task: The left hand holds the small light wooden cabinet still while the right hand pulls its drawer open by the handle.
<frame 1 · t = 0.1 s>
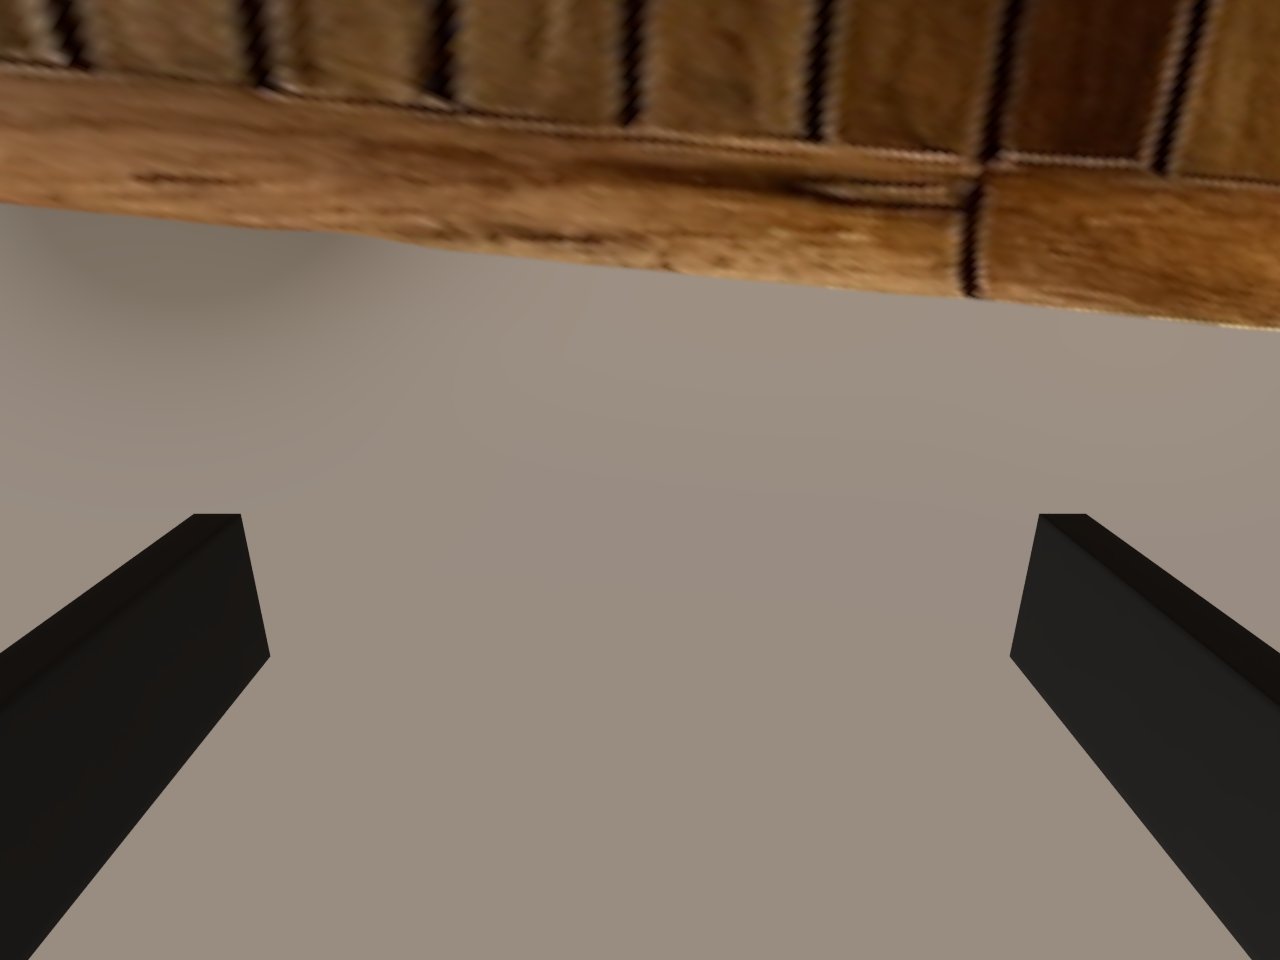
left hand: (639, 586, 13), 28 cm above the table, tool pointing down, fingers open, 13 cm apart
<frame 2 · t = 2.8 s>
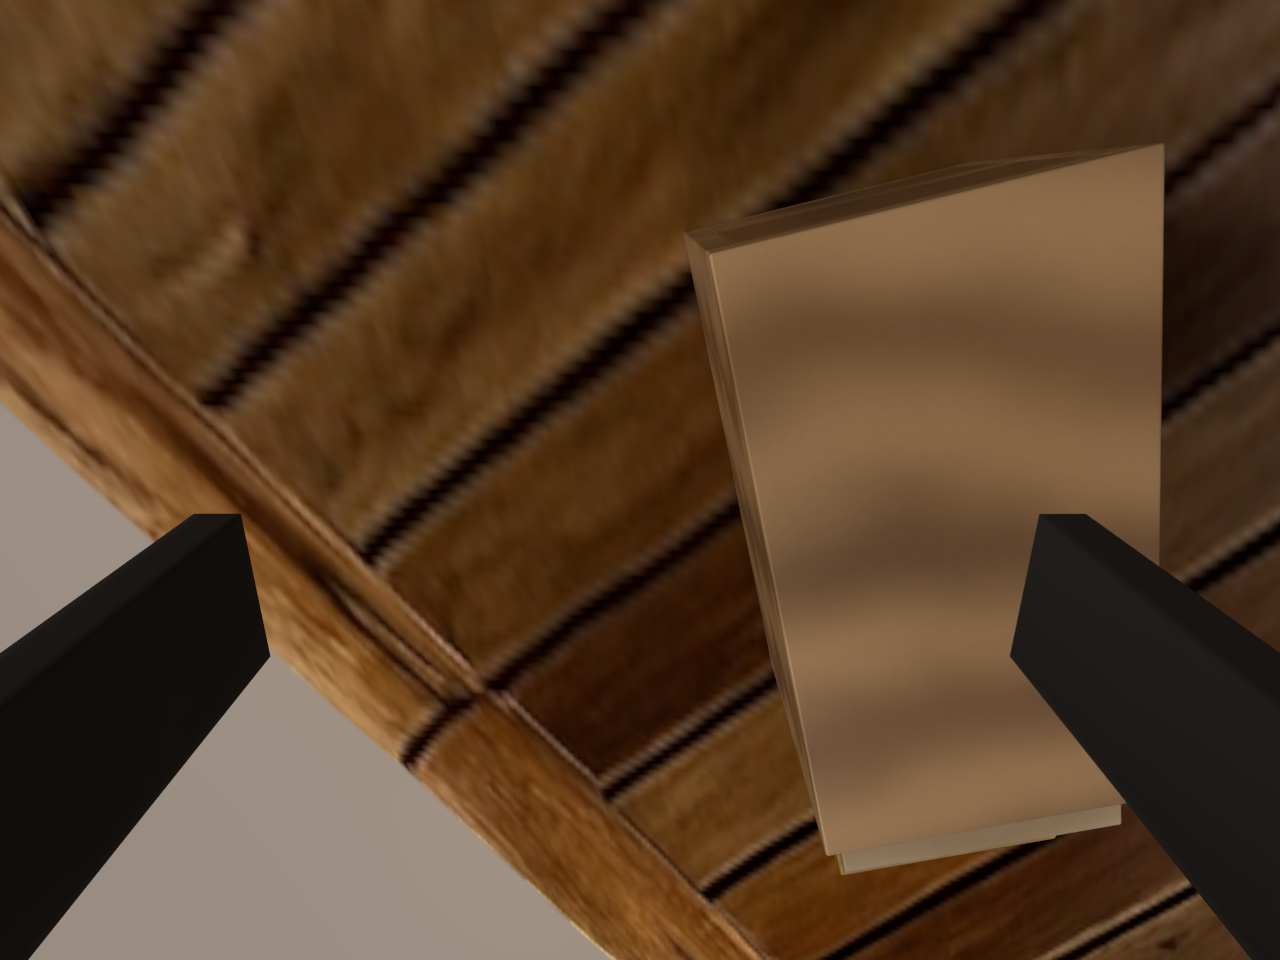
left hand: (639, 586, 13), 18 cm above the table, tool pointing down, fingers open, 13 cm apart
drawer: (916, 620, 28), point 5 cm above the table, slide at 0.7 cm
cabinet: (858, 444, 31), on the table
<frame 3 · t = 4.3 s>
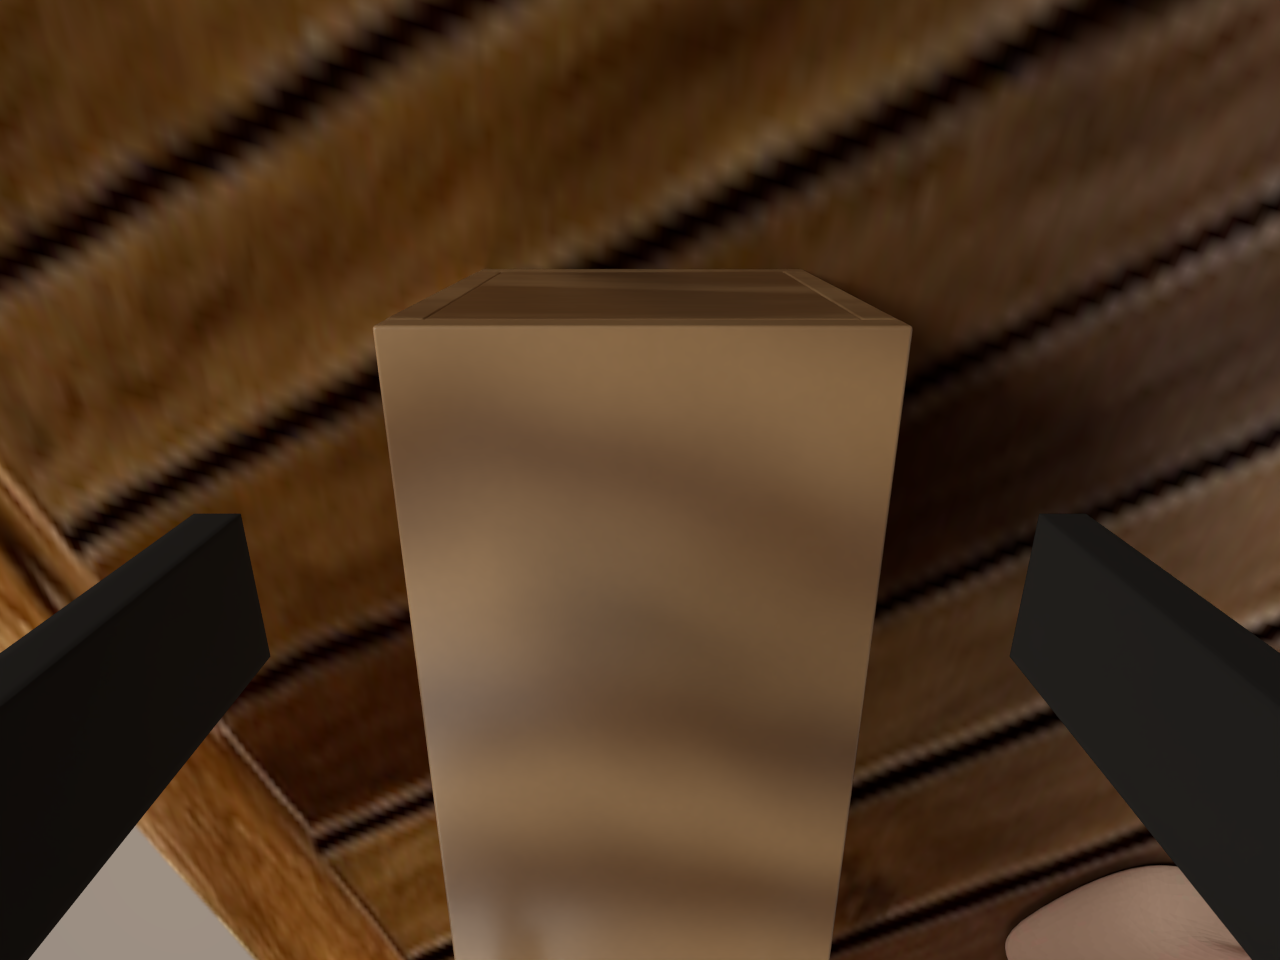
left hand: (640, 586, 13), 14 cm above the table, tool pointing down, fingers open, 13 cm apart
cabinet: (642, 537, 28), on the table
anatomical model: (1145, 947, 36), on the table
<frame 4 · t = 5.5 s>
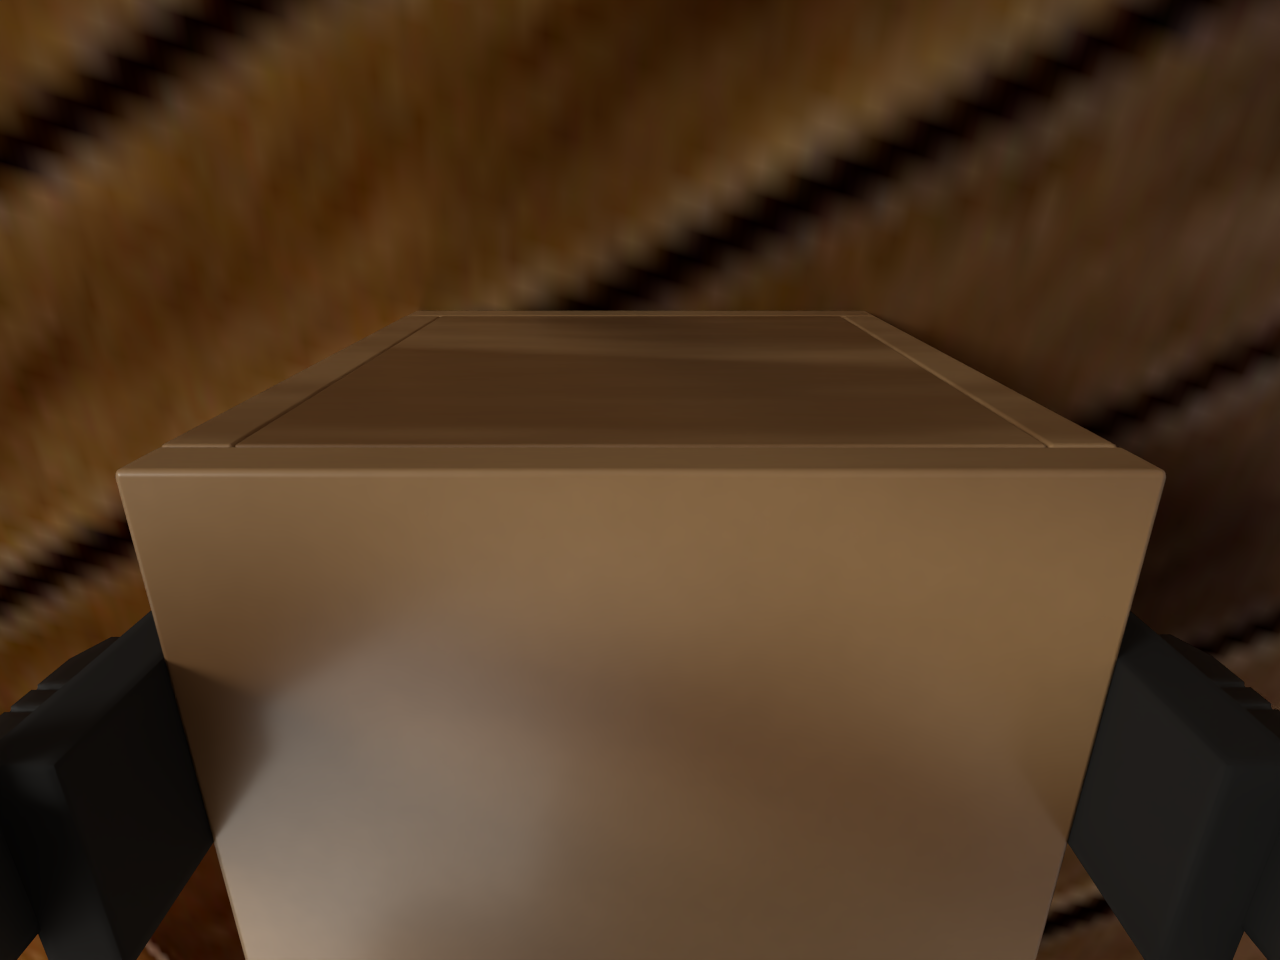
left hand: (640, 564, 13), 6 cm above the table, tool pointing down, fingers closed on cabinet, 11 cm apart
cabinet: (640, 663, 21), on the table, touching left hand
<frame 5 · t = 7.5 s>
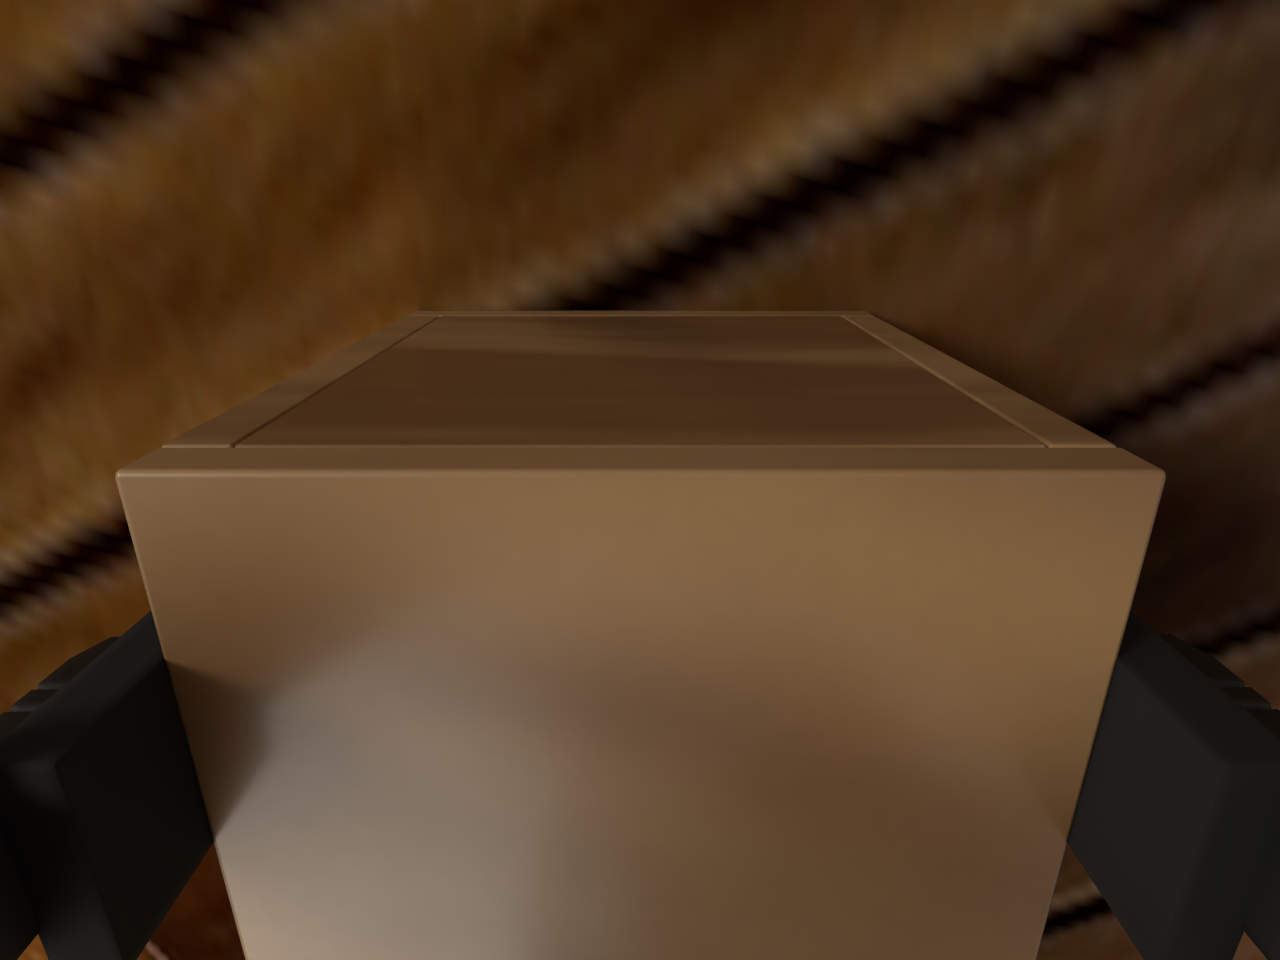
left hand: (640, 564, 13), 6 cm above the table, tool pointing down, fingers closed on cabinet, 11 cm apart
cabinet: (640, 663, 21), on the table, touching left hand
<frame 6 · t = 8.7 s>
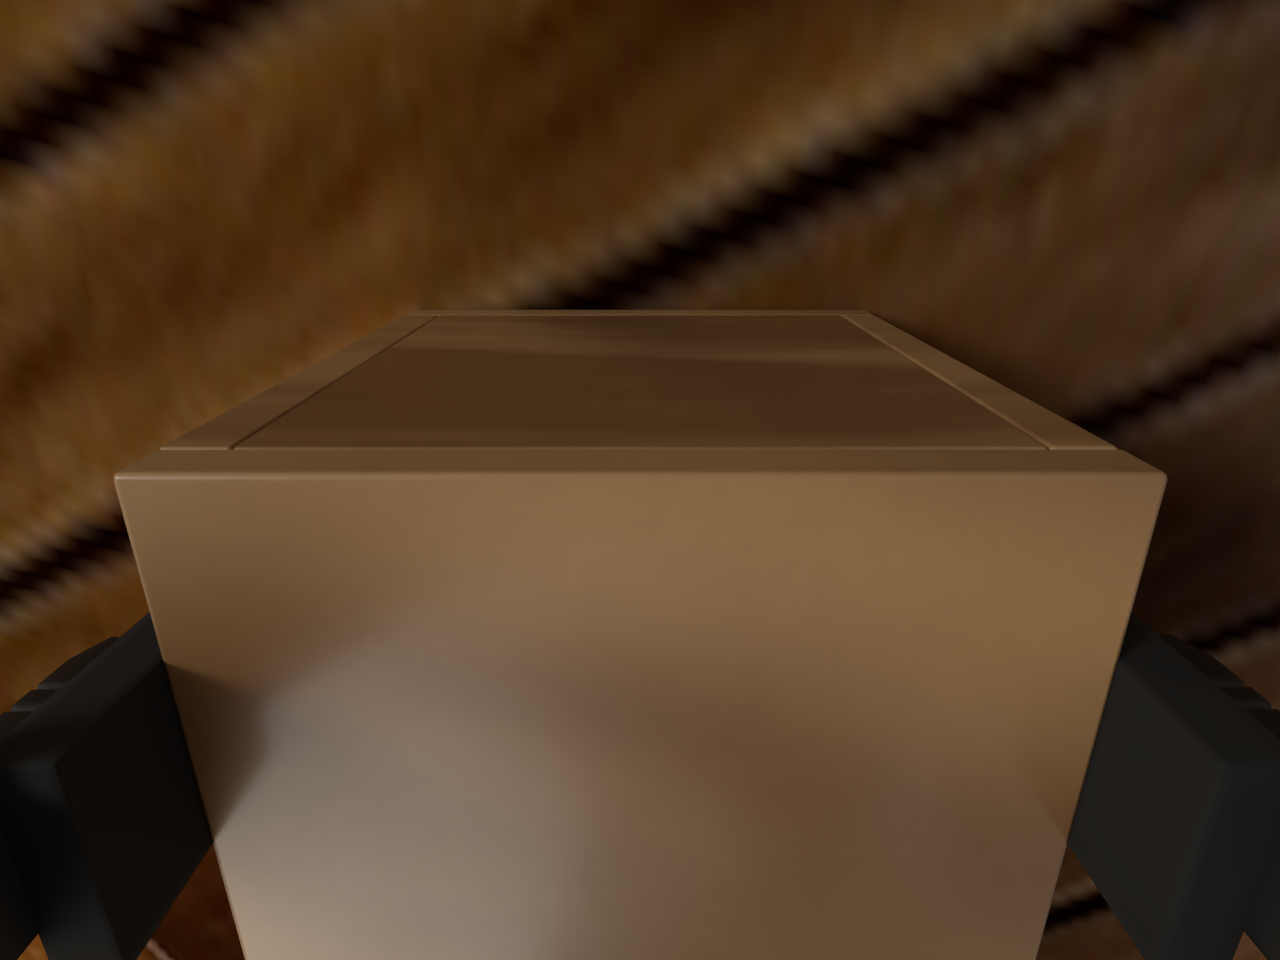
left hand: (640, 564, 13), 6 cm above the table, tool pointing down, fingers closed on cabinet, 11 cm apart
cabinet: (640, 662, 21), on the table, touching left hand
when the left hand's fingers open (6 cm above the table, at t = 10.5 s): cabinet stays where it is, on the table.
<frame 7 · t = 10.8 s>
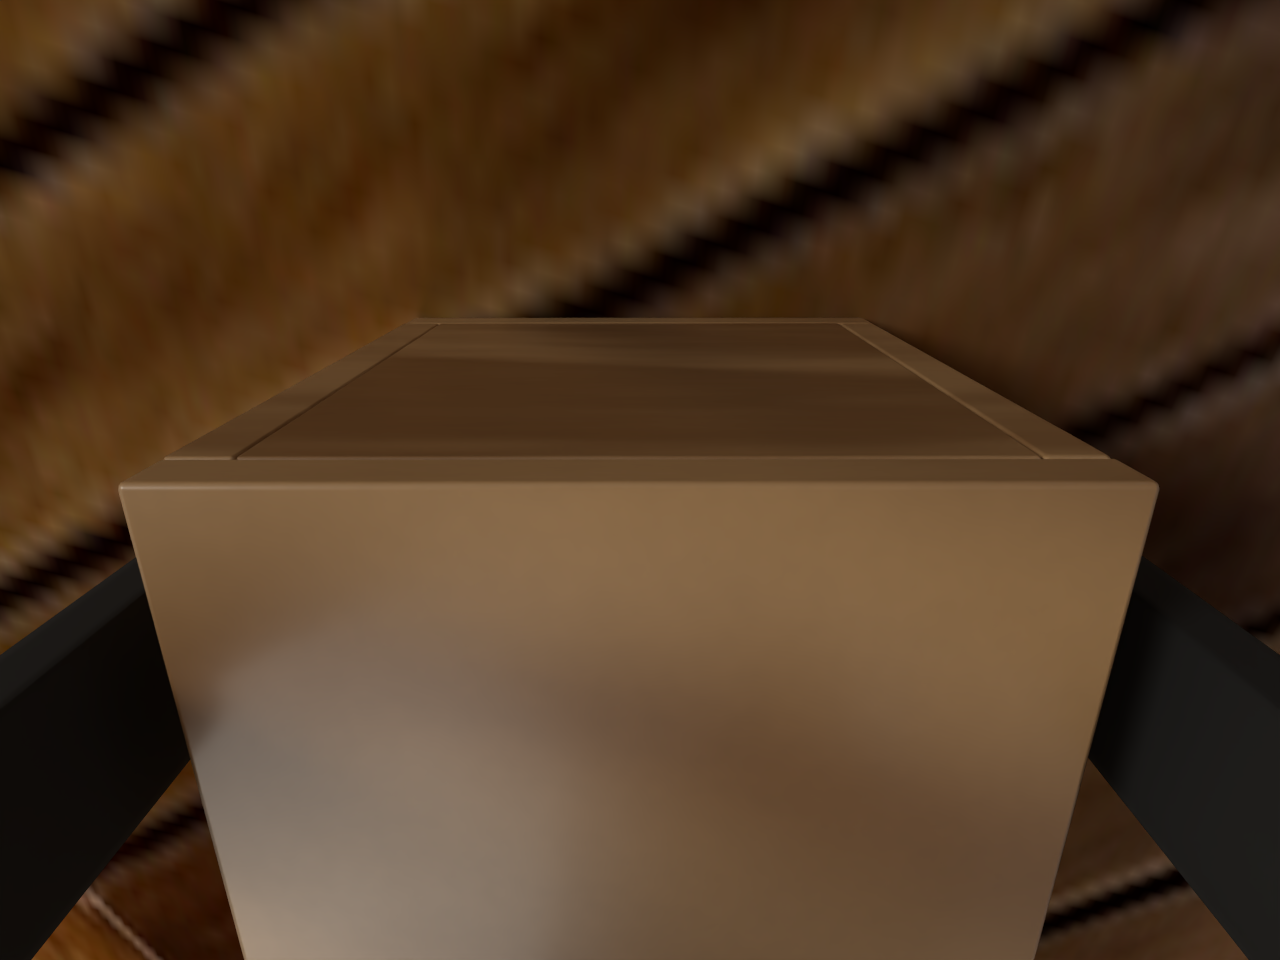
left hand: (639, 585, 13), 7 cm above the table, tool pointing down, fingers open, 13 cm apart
cabinet: (639, 668, 21), on the table
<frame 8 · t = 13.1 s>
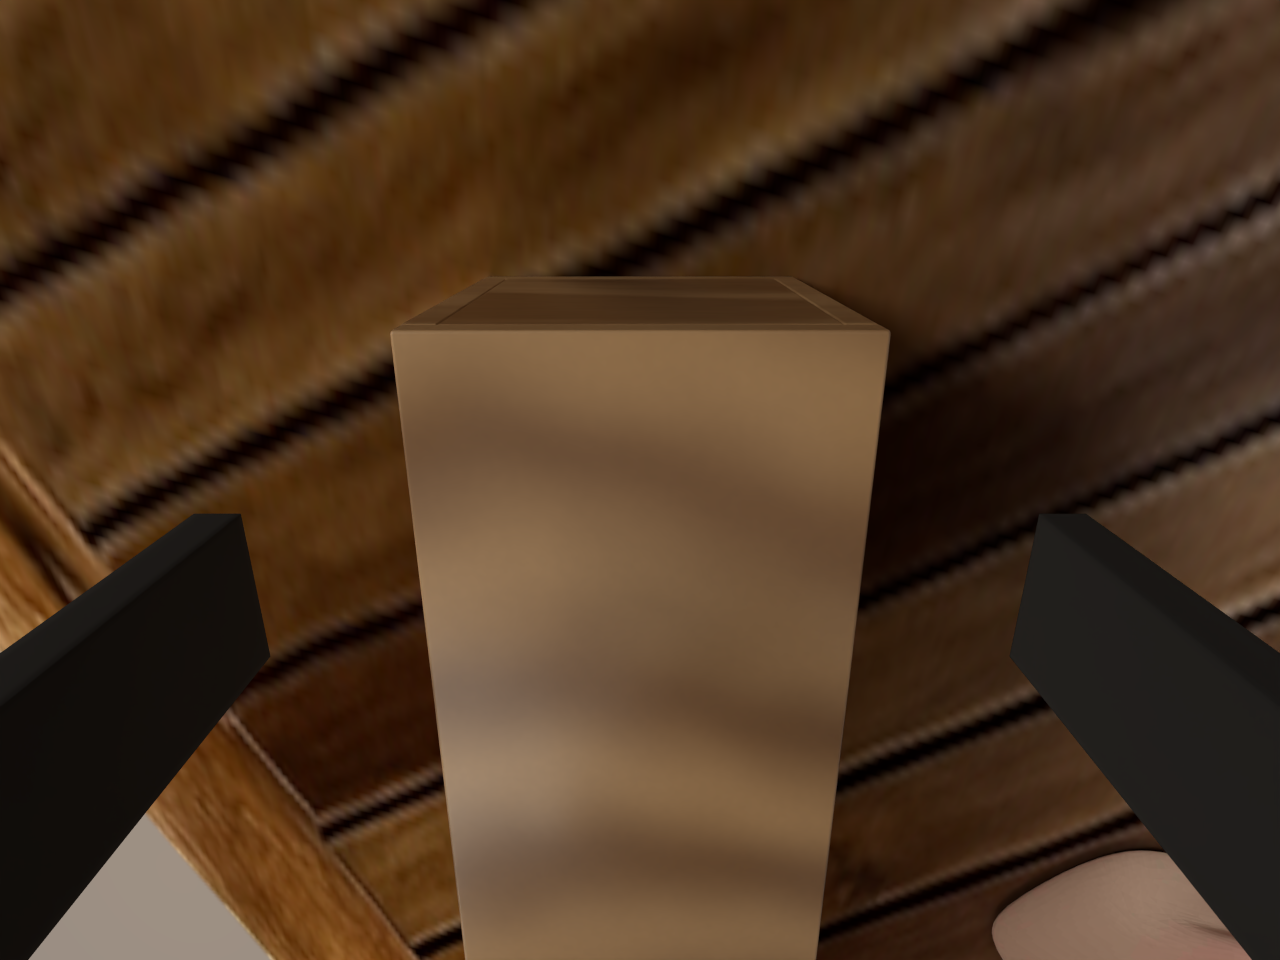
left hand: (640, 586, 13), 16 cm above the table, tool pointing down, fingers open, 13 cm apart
cabinet: (640, 533, 29), on the table
anatomical model: (1128, 931, 37), on the table
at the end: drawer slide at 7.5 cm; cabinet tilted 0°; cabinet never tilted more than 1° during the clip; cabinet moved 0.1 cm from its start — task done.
